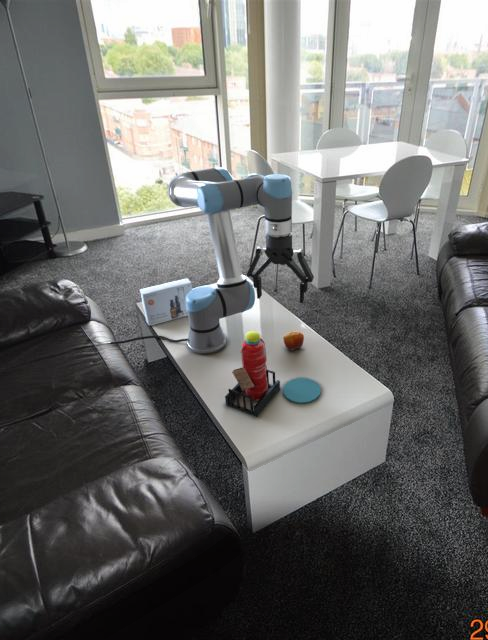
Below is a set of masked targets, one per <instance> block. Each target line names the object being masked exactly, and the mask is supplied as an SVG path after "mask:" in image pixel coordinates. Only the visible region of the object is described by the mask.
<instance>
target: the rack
mask: <svg viewBox="0 0 488 640" xmlns="http://www.w3.org/2000/svg"><path fill="white" fill-rule="evenodd" d="M269 373H270V374H271V375H272V384H271V383H270V379H269V377H270V376H269ZM266 376H267V382H268V390H267V392H266V393H265V394H264V396H263V397H262V398H261V399H260V400H257V402H256V403H255V404H254V400H252V399H253V397H251V396H248V395H247V394H245V393H243V392H244V391H242V389H241V387H240V385H239V384H238V383H237V384H236V385H234V386H233V387H232V389H231V388H228V389H227V391H228V392H227V393H226V395H224V398H225V399H224V400H225V406H227V407H229V408H232V409H234V410H237V411H240V412H242V413H245V414H247V415H251V416H252V417H256V418H257V417H258V416H259V415H260V414H261V413H262V412H263V411H264V409H265V408H266V407H267V406H268V404H270V402H271V401H272V400H273V398H274V397H276V395H277V394H278V393H279V392H280V391H281V380H279V379H276V372H275V371H273V370H270V369H268V368H267V369H266ZM240 396H241V398H242V406H241V405H240ZM246 399H249V409H248V408H247V400H246ZM234 401H236V404H235V403H234Z"/></svg>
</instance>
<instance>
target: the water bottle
mask: <svg viewBox="0 0 488 640" xmlns="http://www.w3.org/2000/svg"><path fill="white" fill-rule="evenodd" d="M240 355H241V356H240V357H241V364H242V367H239V368H236V369H233V371H231V373H232V375H233V377H234V378H235V380H236V382H237V384H239V385H240V387H241V389H242V391H243V392H244V391H245V393H246V395H248V396H251V397H253V399H252V400H253V401H259V400H260V399H261V398H262V397H263V396H264V394H265V393H266V392H267V391H268V390H269V388H268V382H267V376H266V369H268V366H267V351H266V344H265V341H264V340H263V338H261V336H260V333H259V332H257V331H255V330H252V331H248V332H246V333H245V338H244V341H243V343H242V346H241V351H240Z"/></svg>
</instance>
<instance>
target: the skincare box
mask: <svg viewBox="0 0 488 640" xmlns="http://www.w3.org/2000/svg"><path fill="white" fill-rule="evenodd" d="M192 289H193V285H192V281H191V280H190V279H189V278H188V277H187V278H186V277H185V278H183V279H179V280H174V281H170V282H165V283H161V284H156V285H152V286H149V287H144V288H140V289H139V293H140V296H141V303H142V307H143V311H144V316H145V321H146V324H147V325H148V326H149V327H151V326H155V325H158V324H162V323H166V322H169V321H173V320H177V319H180V318H184V317H188V313H187V309H186V296H187V294H188V293H189V292H190V291H191V290H192Z"/></svg>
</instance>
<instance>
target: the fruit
mask: <svg viewBox="0 0 488 640" xmlns="http://www.w3.org/2000/svg"><path fill="white" fill-rule="evenodd" d="M304 341H305V336H304V333H303V332H301V331H299V330H295V331H294V330H293V331H292V330H291V331H288V332H287V333H285V335H283V344H284V346H285V347H286V348H287V349H288V350H290V351H292V352H293V351H295V350H296V349H301V350H303V348H302V347H303V344H304Z"/></svg>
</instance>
